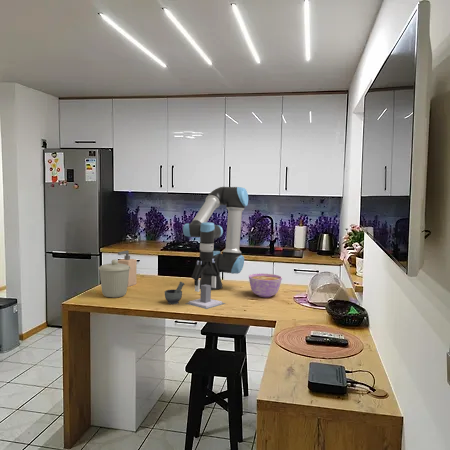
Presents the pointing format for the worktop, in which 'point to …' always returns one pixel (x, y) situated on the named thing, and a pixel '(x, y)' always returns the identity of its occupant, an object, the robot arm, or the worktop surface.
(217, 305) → the mat
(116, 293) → the canister
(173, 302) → the mortar and pestle
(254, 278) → the bowl of food
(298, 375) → the worktop surface
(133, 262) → the soap dispenser
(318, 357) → the worktop surface
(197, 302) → the cover board
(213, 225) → the robot arm
